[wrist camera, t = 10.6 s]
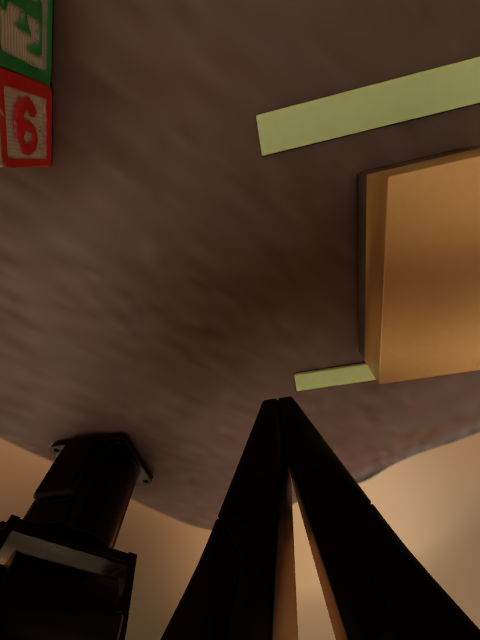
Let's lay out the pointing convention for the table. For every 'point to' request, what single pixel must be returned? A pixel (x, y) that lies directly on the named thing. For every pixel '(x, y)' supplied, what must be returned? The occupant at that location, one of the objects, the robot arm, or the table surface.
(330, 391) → the table surface
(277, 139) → the tape box
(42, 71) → the tan printed boxy piece
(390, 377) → the chalkboard eraser
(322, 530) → the robot arm
